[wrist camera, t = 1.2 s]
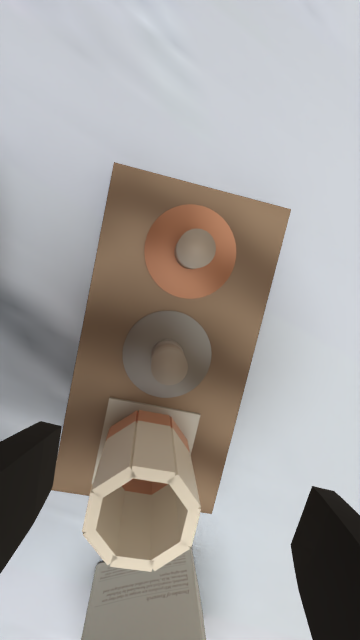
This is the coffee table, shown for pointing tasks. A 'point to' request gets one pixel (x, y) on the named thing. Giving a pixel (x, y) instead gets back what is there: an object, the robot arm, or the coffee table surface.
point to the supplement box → (145, 603)
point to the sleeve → (143, 494)
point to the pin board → (170, 320)
